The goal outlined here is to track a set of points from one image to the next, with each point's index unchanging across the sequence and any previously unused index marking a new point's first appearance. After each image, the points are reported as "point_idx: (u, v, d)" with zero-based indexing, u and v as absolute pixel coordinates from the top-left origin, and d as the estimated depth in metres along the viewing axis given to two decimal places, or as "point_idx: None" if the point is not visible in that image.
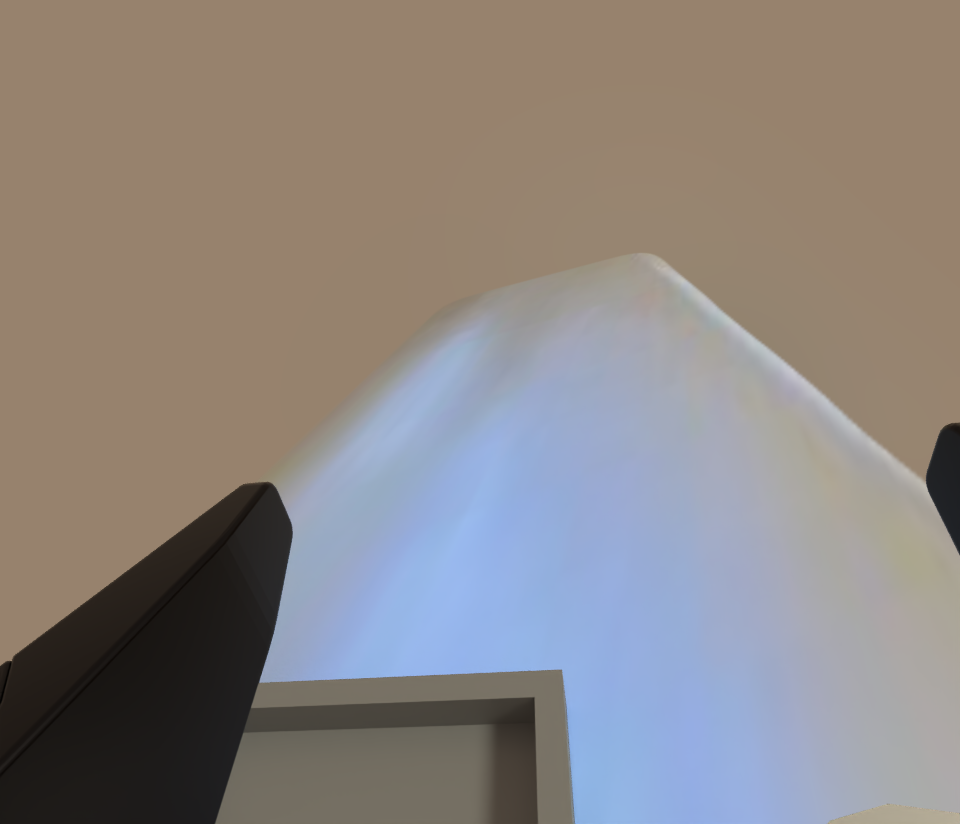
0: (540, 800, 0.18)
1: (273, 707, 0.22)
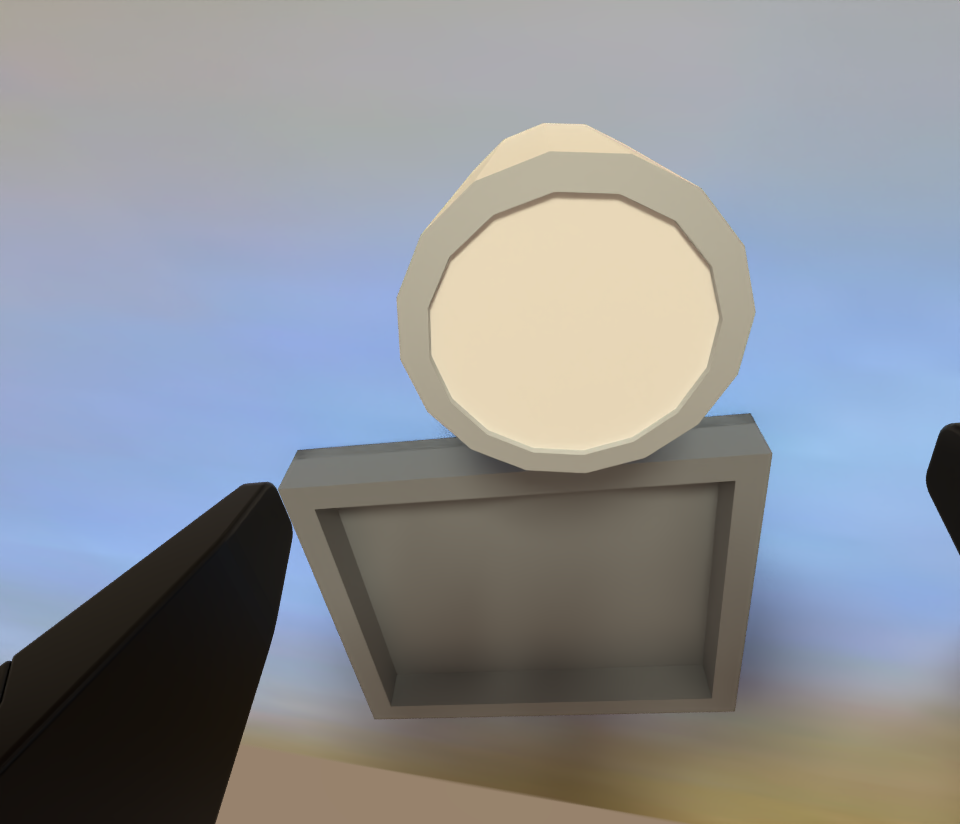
0: (406, 500, 0.21)
1: (378, 673, 0.26)
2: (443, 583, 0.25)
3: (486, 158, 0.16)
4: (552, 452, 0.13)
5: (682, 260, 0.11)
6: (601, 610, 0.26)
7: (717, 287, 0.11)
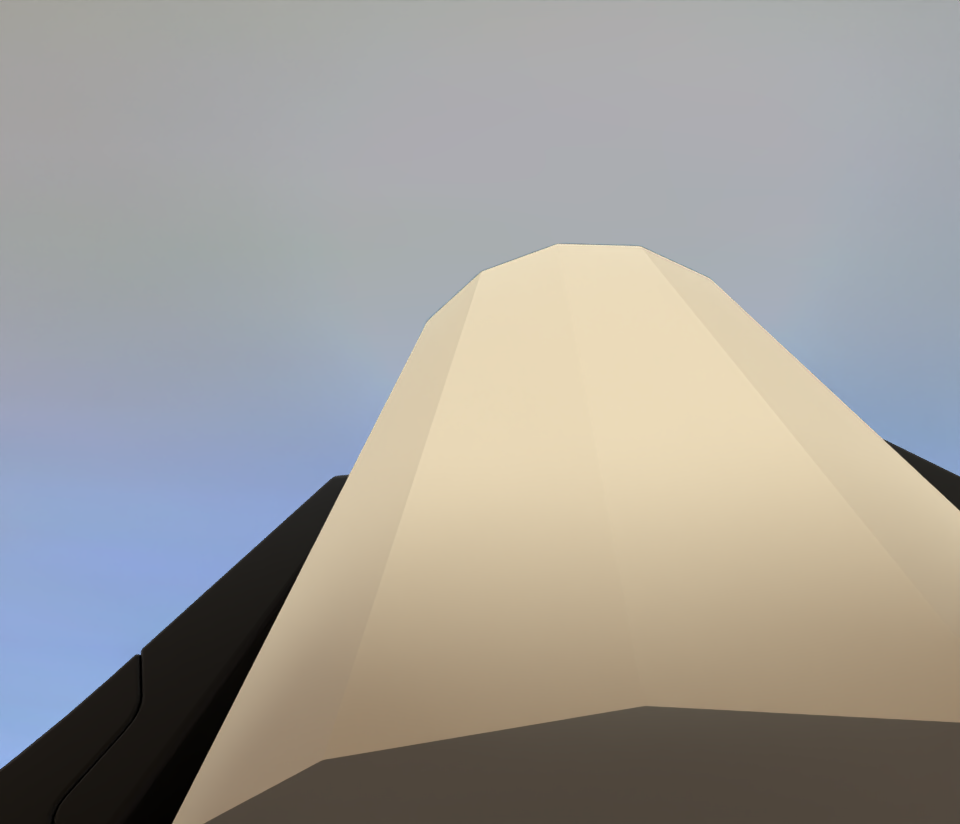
0: None
1: None
2: None
3: (444, 325, 0.08)
4: None
5: None
6: None
7: None
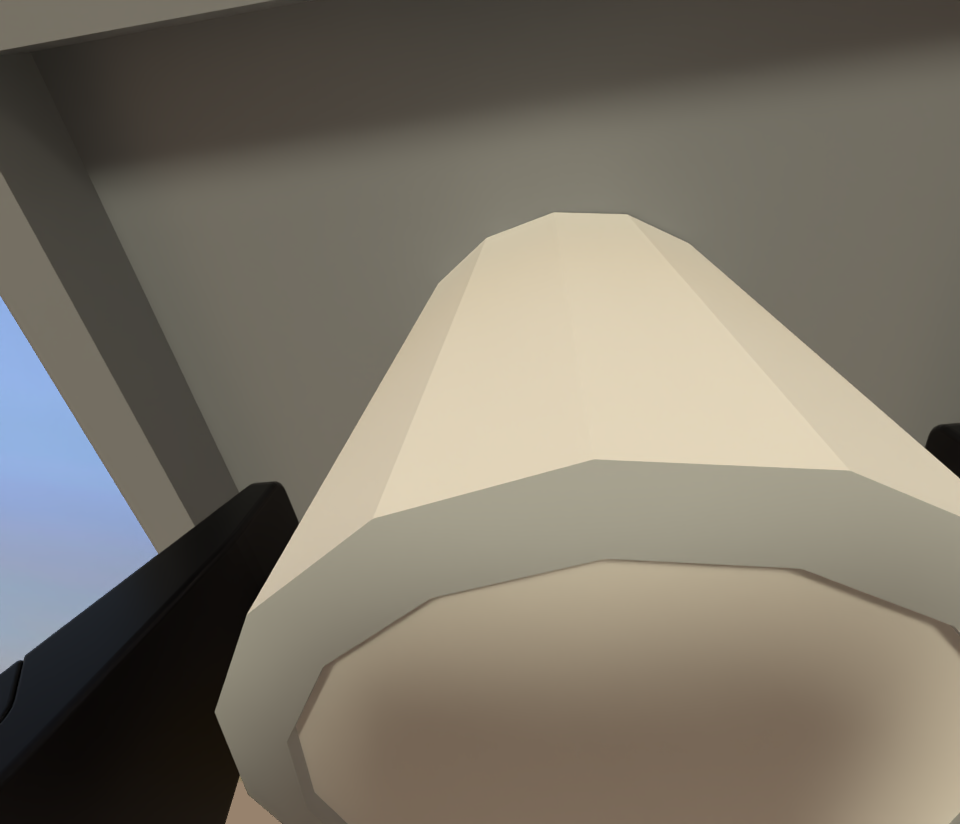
0: (202, 2, 0.07)
1: None
2: (367, 390, 0.11)
3: (453, 281, 0.09)
4: None
5: (937, 682, 0.04)
6: None
7: None
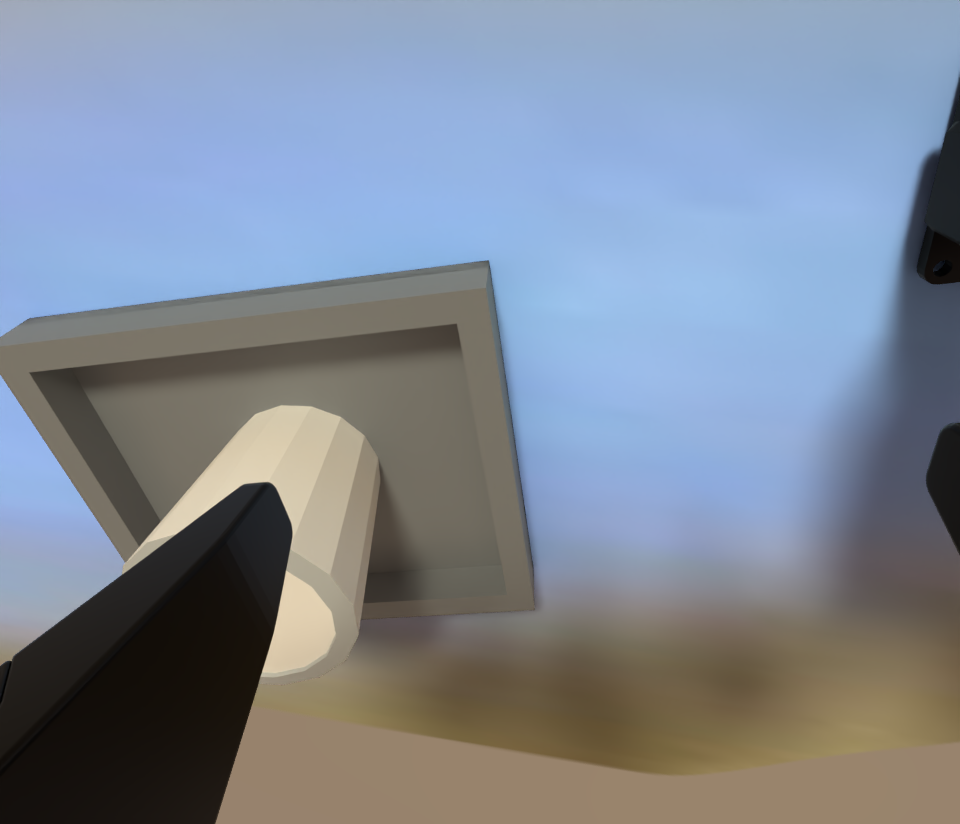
0: (121, 358, 0.19)
1: None
2: None
3: (233, 438, 0.21)
4: None
5: (294, 581, 0.17)
6: (386, 501, 0.24)
7: (321, 595, 0.17)
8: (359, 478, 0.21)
